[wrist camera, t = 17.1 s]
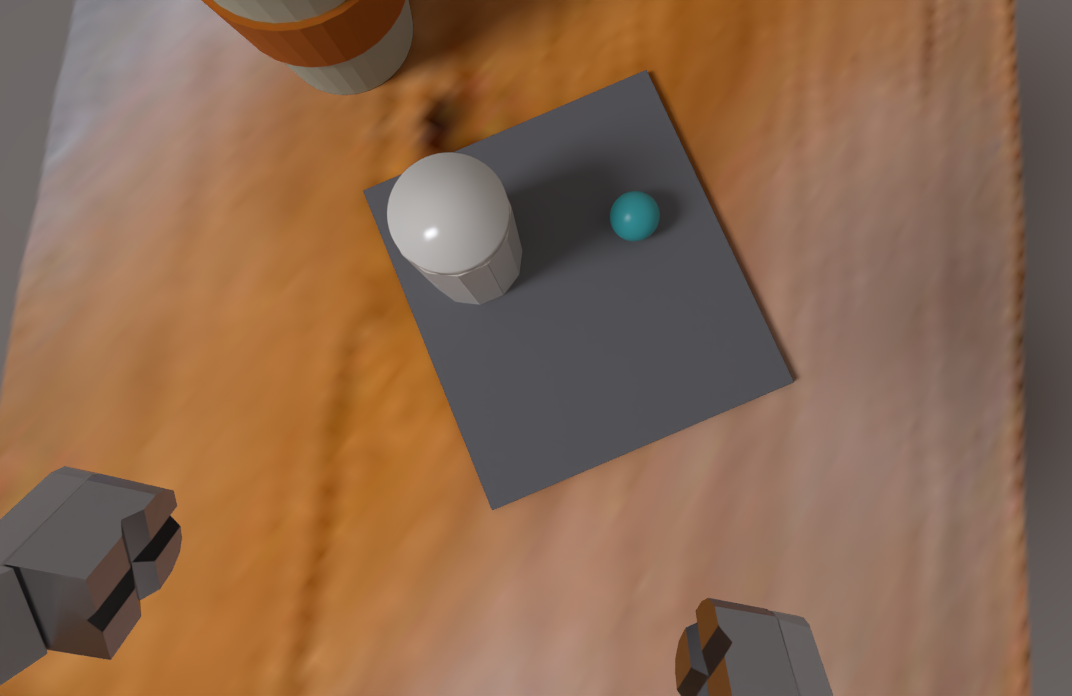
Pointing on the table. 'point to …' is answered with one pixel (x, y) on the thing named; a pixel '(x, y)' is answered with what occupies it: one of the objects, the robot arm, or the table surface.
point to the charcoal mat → (592, 301)
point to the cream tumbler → (456, 227)
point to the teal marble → (634, 216)
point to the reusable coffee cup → (327, 38)
